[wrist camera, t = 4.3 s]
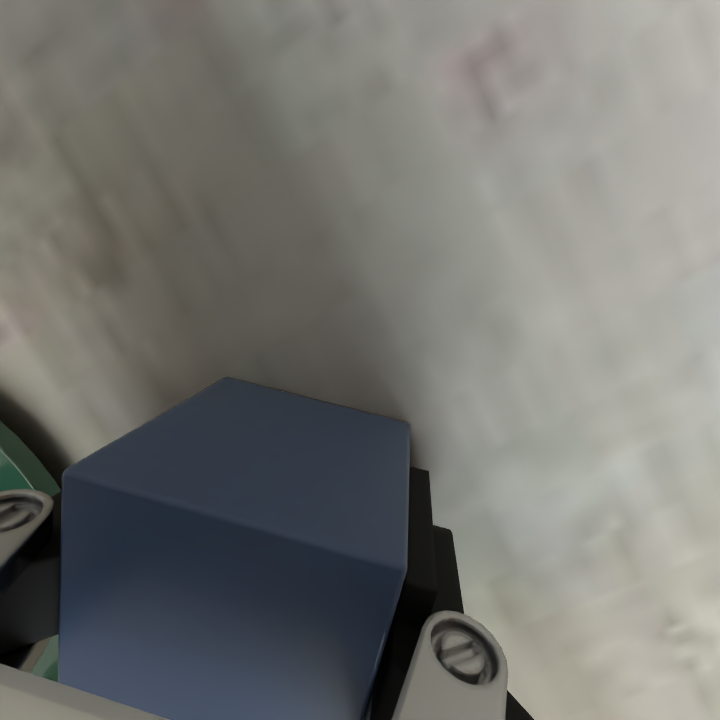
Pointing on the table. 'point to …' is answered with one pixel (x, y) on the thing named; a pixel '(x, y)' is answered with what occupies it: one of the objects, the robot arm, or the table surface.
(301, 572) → the block
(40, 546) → the robot arm
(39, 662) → the crock lid
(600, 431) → the table surface
